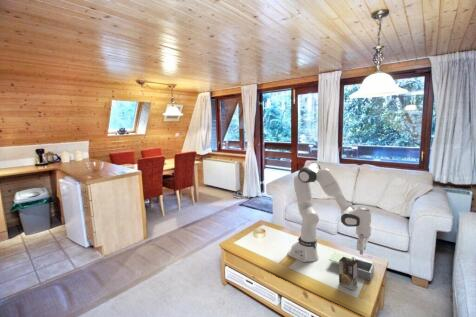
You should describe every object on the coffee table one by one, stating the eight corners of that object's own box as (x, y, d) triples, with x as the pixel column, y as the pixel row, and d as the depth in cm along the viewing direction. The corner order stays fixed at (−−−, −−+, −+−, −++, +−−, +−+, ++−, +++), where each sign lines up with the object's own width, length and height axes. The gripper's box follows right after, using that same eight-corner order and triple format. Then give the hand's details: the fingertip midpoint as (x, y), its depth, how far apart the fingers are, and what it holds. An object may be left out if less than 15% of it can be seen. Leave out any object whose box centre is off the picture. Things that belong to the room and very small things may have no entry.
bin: (345, 272, 162) (345, 265, 162) (350, 264, 172) (350, 257, 171) (370, 280, 153) (370, 272, 153) (373, 271, 163) (373, 263, 162)
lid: (328, 260, 168) (329, 256, 168) (334, 252, 178) (334, 249, 178) (351, 266, 159) (351, 263, 159) (355, 258, 169) (356, 254, 169)
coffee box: (357, 286, 149) (358, 261, 147) (353, 291, 144) (353, 265, 142) (343, 279, 155) (343, 256, 154) (338, 284, 151) (338, 259, 149)
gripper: (365, 238, 148) (364, 260, 150) (371, 227, 164) (371, 246, 166) (354, 236, 152) (353, 257, 154) (361, 225, 168) (360, 244, 170)
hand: (362, 251), depth 160 cm, fingers open, 7 cm apart
